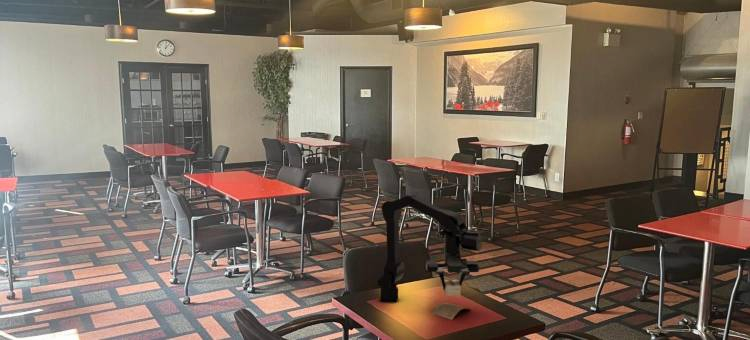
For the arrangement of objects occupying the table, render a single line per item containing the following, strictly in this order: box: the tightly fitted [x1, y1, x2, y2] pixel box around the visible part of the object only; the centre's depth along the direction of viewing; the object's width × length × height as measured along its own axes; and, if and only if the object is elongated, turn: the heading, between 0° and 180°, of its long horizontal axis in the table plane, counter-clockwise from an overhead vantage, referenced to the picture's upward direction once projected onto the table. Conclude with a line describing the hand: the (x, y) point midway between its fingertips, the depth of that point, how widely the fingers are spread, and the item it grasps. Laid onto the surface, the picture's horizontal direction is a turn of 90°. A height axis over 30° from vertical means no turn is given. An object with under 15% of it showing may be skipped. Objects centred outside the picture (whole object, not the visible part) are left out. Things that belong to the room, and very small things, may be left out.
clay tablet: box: [431, 302, 471, 321], centre depth 216 cm, size 14×10×3 cm
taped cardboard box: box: [442, 279, 462, 296], centre depth 215 cm, size 7×5×4 cm
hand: (451, 288), depth 215 cm, fingers closed on taped cardboard box, 5 cm apart
